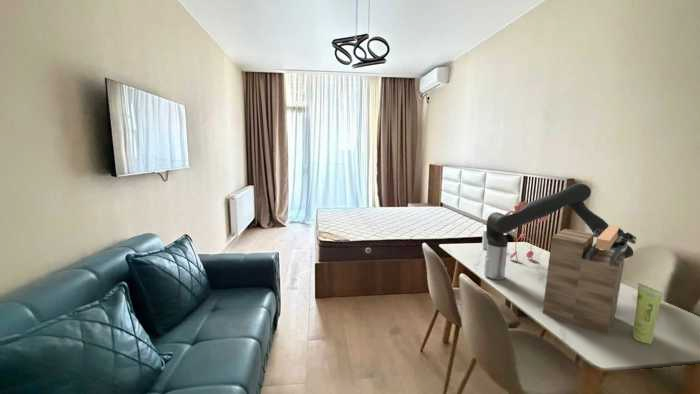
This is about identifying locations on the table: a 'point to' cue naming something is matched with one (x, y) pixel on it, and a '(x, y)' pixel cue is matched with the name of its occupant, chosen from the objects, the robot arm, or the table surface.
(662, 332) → the table surface
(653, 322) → the tube
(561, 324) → the table surface
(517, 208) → the figurine
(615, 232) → the bar
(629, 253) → the robot arm
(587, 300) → the wooden knife block
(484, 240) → the supplement box
